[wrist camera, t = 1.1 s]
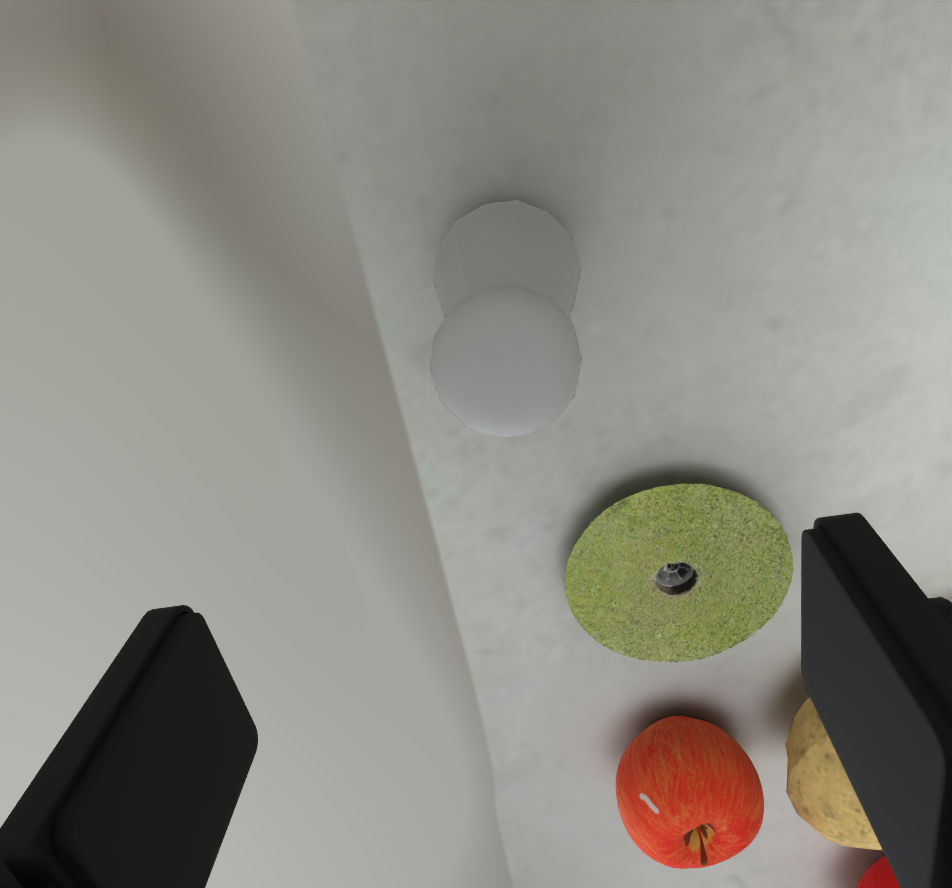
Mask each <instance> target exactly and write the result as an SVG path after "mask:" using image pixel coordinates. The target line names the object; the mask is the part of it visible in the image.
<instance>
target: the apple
mask: <svg viewBox="0 0 952 888" xmlns="http://www.w3.org/2000/svg"><path fill="white" fill-rule="evenodd" d="M616 796H617V803H618V808H619V812H620V815H621V818H622V821H623V823H624V826H625V828H626V830H627V832H628V834H629V835H630V837H631V838H632V840H633V841H634V843H635V844H636V845H637V846H638V847H639V848H640V849H641V850H642V852H644V853H645V854H646V855H647V856H649V857H650V858H652V859H653V860H655V861H657V862H659V863H661V864H663V865H666V866H669V867H672V868H680V869H682V868H701V867H707V866H711V865H714V864H717V863H720V862H722V861H725V860H727V859H729V858H731V857H732V856H734V855H736V854H737V853H739V852H740V851H742V850H743V849H745V848H746V847H747V846H748V845H749V844H750V843H751V842H752V841H753V840H754V838H755V837H756V835H757V834H758V832H759V829H760V827H761V824H762V820H763V813H764V798H763V791H762V786H761V783H760V779H759V777H758V774H757V772H756V769H755V767H754V765H753V764H752V762H751V760H750V758H749V757H748V755H747V754H746V753H745V751H744V750H743V749H742V748H741V746H740V745H739V744H738V743H737V742H736V741H735V740H734V739H733V738H732V737H731V736H729V735H728V734H727V733H726V732H725V731H723V730H722V729H720V728H719V727H717V726H715V725H713V724H711V723H709V722H706V721H703V720H699V719H695V718H690V717H685V716H670V717H667V718H663V719H661V720H658V721H657V722H655V723H653V724H652V725H650V726H649V727H647V728H646V729H645V730H643V731H642V732H641V733H640V734H639V735H638V736H637V737H636V738H635V739H634V740H633V741H632V742H631V743H630V745H629V746H628V747H627V749H626V750H625V752H624V754H623V756H622V757H621V760H620V763H619V766H618V769H617V775H616Z"/></svg>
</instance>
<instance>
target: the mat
mask: <svg viewBox="0 0 952 888" xmlns="http://www.w3.org/2000/svg"><path fill="white" fill-rule="evenodd" d="M790 551H791V547H790V545H789V543H788V539H787V536H786V533H785V532H784V531H783V529H782V528H781V526H780V524H779V523H778V521H777V519H775V518H774V516H773V515H772V514H770V512H769V511H767V510H766V509H765V508H764V507H763V506H761V505H760V504H759V503H758V502H756V501H753V500H751V499H749V498H748V497H746V496H744V495H742V494H740V493H737V492H734V491H731V490H728V489H726V488H723V487H715V486H713V485H705V484H702V483H701V484H699V485H698V484H686V483H683V484H674V485H673V486H672V485H667V486H660V487H654V488H653V489H648V490H643V491H641V492H639V493H636V494H635V495H631V496H629V497H627V498H624V499H623V500H621V501H618V502H616V503H614V505H613V506H611V507H609V508H607V509H606V510H605V511H603V512H602V513H601V514H600V516H598V517H596V518H595V520H594V521H593V522H591V523H590V525H589V527H588V528H587V529H586V530H585V531H584V532H583V534H582V535H581V536H580V539H578V542H577V543H576V544H575V546H574V547H573V551H572V552H571V555H570V557H569V559H568V562H567V567H566V573H565V589H566V597H567V600H568V603H569V606H570V608H571V610H572V613H573V615H574V616H575V618H576V620H577V621H578V623H579V624H580V625H581V627H583V629H584V630H585V631H586V632H587V633H588V634H589V635H590V636H592V637H593V638H594V639H595V640H596V641H597V642H599V643H602V645H604V646H606V647H607V648H609V649H611V650H613V651H617V652H618V653H620V654H623V655H626V656H629V657H633V658H638V659H642V660H649V661H658V662H667V661H670V662H671V661H673V662H674V661H675V662H677V661H690V660H694V659H702V658H705V657H709V656H713V655H714V654H717V653H721V652H722V651H724V650H726V649H728V647H729V648H732V647H733V646H734V645H736V644H738V643H740V642H742V641H744V640H746V639H747V638H748V637H749V636H752V635H753V634H754V633H755V632H756V631H757V630H758V629H761V628H762V626H763V625H764V624H765V623H766V622H767V621H768V620H769V619H770V618H772V617H773V615H774V613H776V611H777V609H778V608H779V607H780V606H781V605H782V602H783V600H784V597H785V595H786V594H787V591H788V588H789V585H790V583H791V578H792V572H793V563H792V559H793V557H792V552H790Z"/></svg>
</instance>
